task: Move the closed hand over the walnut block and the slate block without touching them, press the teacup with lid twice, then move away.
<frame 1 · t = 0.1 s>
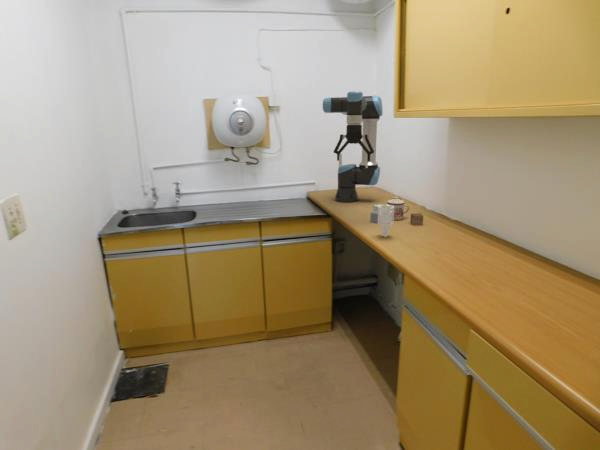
hand: (353, 167, 190), 28 cm above the worktop, fingers open, 13 cm apart
walnut block: (416, 223, 190), on the worktop
pale grey tall piece: (384, 236, 171), on the worktop
sage block: (378, 214, 210), on the worktop
slate block: (376, 221, 195), on the worktop
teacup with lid: (397, 218, 201), on the worktop
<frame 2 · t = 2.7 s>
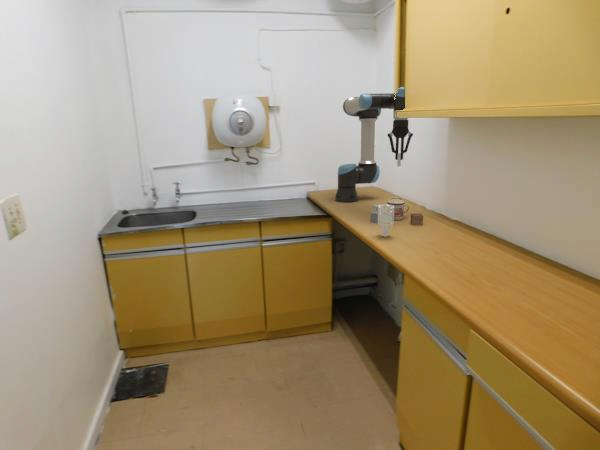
hand: (398, 166, 196), 28 cm above the worktop, fingers closed
nothing on the worktop moved.
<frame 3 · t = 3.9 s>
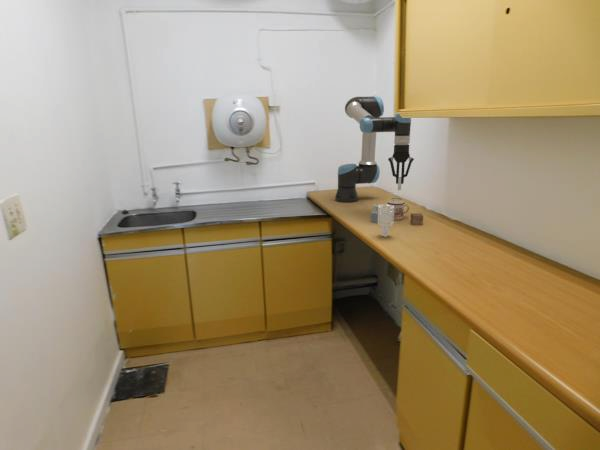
hand: (399, 189, 197), 15 cm above the worktop, fingers closed
nothing on the worktop moved.
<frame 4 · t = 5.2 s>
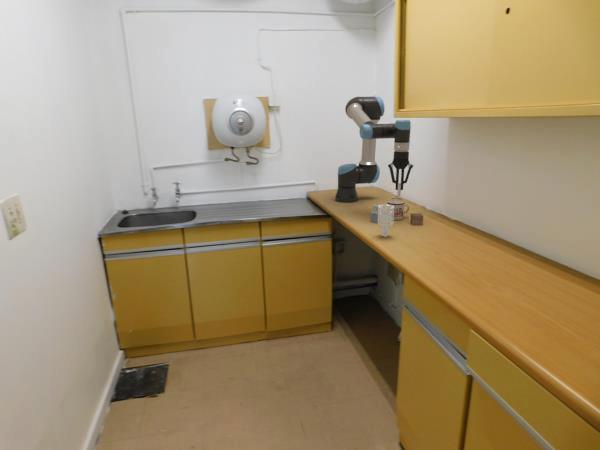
hand: (398, 196, 198), 12 cm above the worktop, fingers closed
nothing on the worktop moved.
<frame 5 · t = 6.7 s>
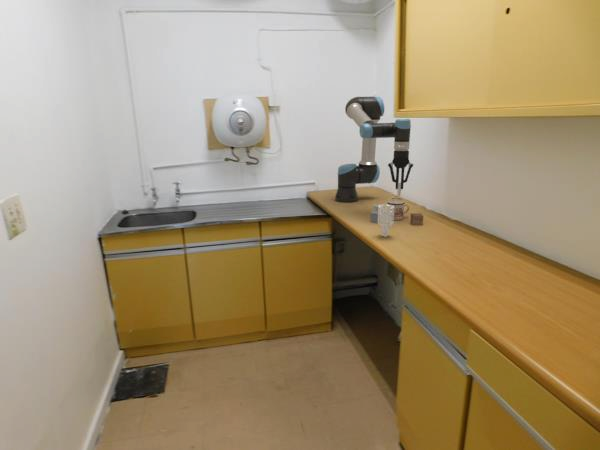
hand: (398, 195, 198), 12 cm above the worktop, fingers closed
nothing on the worktop moved.
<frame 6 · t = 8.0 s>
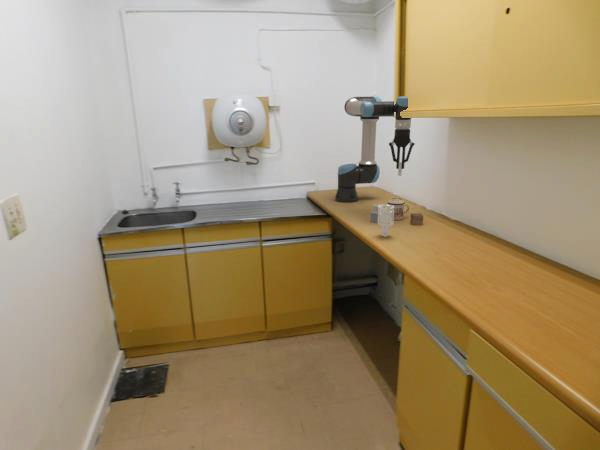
hand: (399, 175, 195), 23 cm above the worktop, fingers closed
nothing on the worktop moved.
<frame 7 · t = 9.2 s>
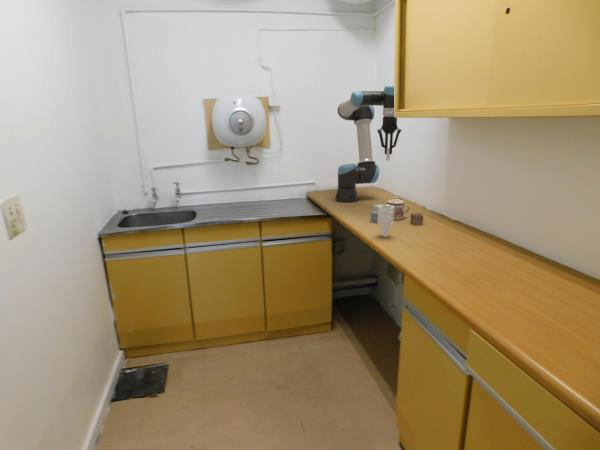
hand: (387, 160, 208), 29 cm above the worktop, fingers closed
nothing on the worktop moved.
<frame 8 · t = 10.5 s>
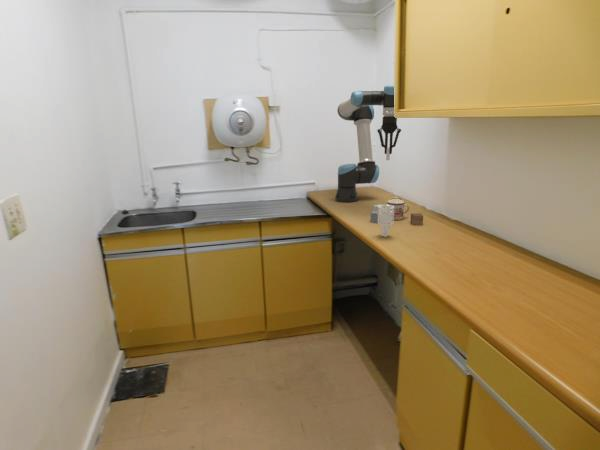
hand: (387, 159, 208), 29 cm above the worktop, fingers closed
nothing on the worktop moved.
at the end: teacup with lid tilted 0°; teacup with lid moved 0.2 cm from its start; walnut block moved 0.1 cm from its start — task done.
